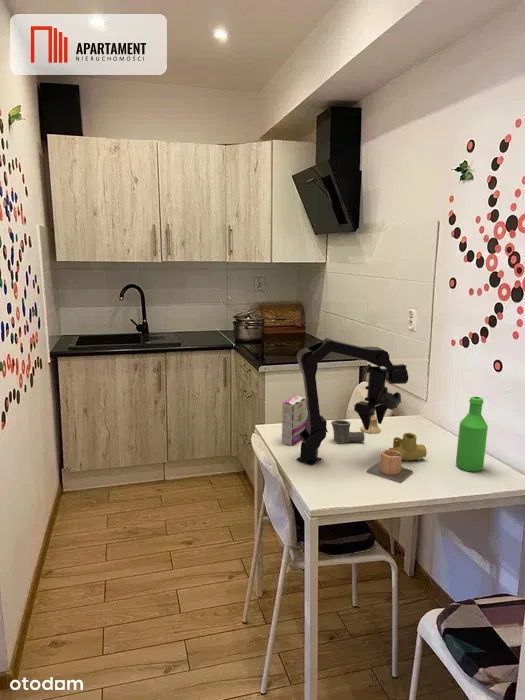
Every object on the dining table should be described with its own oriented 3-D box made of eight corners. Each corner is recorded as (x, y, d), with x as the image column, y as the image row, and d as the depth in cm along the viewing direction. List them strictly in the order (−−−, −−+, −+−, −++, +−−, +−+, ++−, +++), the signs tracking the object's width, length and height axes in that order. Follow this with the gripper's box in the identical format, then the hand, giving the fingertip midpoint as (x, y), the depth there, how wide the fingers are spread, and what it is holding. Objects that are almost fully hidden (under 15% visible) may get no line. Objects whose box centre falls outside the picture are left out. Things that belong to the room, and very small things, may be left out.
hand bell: (383, 429, 214) (386, 392, 211) (376, 435, 207) (379, 396, 204) (364, 425, 218) (367, 388, 215) (357, 430, 211) (359, 393, 208)
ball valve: (426, 463, 182) (413, 449, 192) (429, 438, 179) (416, 424, 188) (393, 467, 180) (381, 452, 190) (395, 441, 177) (383, 428, 186)
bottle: (466, 473, 173) (473, 402, 168) (450, 463, 181) (457, 394, 176) (488, 471, 175) (496, 400, 170) (471, 461, 183) (479, 393, 179)
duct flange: (400, 483, 165) (401, 466, 164) (366, 472, 172) (367, 456, 171) (412, 472, 173) (414, 456, 171) (379, 463, 180) (381, 447, 179)
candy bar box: (294, 434, 205) (296, 395, 202) (305, 437, 202) (307, 397, 199) (280, 443, 196) (282, 401, 192) (292, 446, 193) (293, 404, 190)
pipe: (364, 445, 196) (366, 425, 195) (331, 444, 196) (332, 424, 195) (362, 439, 202) (363, 420, 200) (329, 438, 202) (330, 419, 201)
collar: (376, 470, 172) (378, 451, 170) (385, 464, 177) (386, 446, 175) (395, 476, 168) (396, 456, 166) (403, 470, 173) (404, 450, 171)
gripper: (384, 393, 167) (381, 439, 170) (410, 383, 181) (406, 426, 184) (354, 387, 174) (351, 431, 177) (381, 377, 188) (378, 418, 191)
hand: (373, 426), depth 182 cm, fingers open, 9 cm apart
